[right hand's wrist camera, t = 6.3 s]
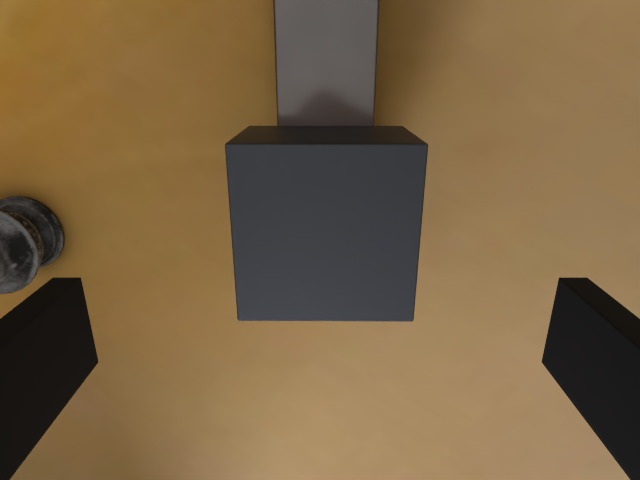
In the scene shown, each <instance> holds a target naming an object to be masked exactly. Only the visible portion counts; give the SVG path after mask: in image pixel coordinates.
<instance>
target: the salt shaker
mask: <svg viewBox="0 0 640 480" xmlns="http://www.w3.org/2000/svg"><path fill="white" fill-rule="evenodd" d="M63 244H64V241H63V232H62V228H61V225H60V224H59V222H58V220H57V218H56V217H55V216H54V215H53V213H52V212H51V211H50V210H49V209H48V208H46V207H45V206H43V205H42V204H41V203H39V202H37V201H34V200H32V199H30V198H25V197H19V196H18V197H8V198H5V199H3V200H0V294H3V293H13V292H16V291H18V290H21V289H23V288H24V287H26V286H27V285H28V284H30V283H31V282H32V280H33V279H34V277H35V276H36V274H37V271H38V268H40V267H43V266H46V265H49V264H50V263H51V262H53V261H54V260H55V259H57V257H58V256H59V254H60V253H61V251H62V247H63Z"/></svg>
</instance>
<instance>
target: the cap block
mask: <svg viewBox="0 0 640 480" xmlns="http://www.w3.org/2000/svg"><path fill="white" fill-rule="evenodd" d="M225 151H226V165H227V179H228V193H229V206H230V220H231V234H232V248H233V262H234V275H235V289H236V303H237V317H238V320H239V321H413V319H414V307H415V295H416V283H417V271H418V259H419V247H420V235H421V223H422V211H423V199H424V187H425V175H426V163H427V151H428V144H427V143H425V142H424V141H423V140H421V139H420V138H418V137H417V136H416V135H414V134H413V133H411V132H410V131H408V130H407V129H406V128H404V127H403V126H248V127H247V128H246V129H244V130H243V131H242V132H240V133H239V134H238V135H236V136H235V137H234V138H232V139H231V140H230V141H228V142H227V143H226V144H225Z"/></svg>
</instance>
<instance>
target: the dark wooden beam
mask: <svg viewBox="0 0 640 480" xmlns="http://www.w3.org/2000/svg"><path fill="white" fill-rule="evenodd" d="M273 1H274V33H275V64H276V96H277V126H374V115H375V90H376V66H377V42H378V18H379V0H273Z"/></svg>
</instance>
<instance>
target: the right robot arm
mask: <svg viewBox="0 0 640 480" xmlns="http://www.w3.org/2000/svg"><path fill="white" fill-rule="evenodd" d="M97 363H98V358H97V353H96V349H95V344H94V339H93V334H92V329H91V324H90V320H89V315H88V310H87V305H86V300H85V295H84V291H83V286H82V281H81V278H52V279H51V280H49V281H48V282H47V283H46V284H44V285H43V286H42V287H40V288H39V289H38V290H37V291H35V292H34V293H33V294H32V295H30V296H29V297H28V298H26V299H25V300H24V301H23V302H21V303H20V304H19V305H18V306H16V307H15V308H14V309H12V310H11V311H10V312H9V313H7V314H6V315H5V316H3V317H2V318H1V319H0V480H10V478H11V477H12V476H13V474H14V473H15V472H16V470H17V469H18V468H19V466H20V465H21V464H22V462H23V461H24V460H25V458H26V457H27V456H28V455H29V453H30V452H31V451H32V449H33V448H34V447H35V445H36V444H37V443H38V441H39V440H40V439H41V437H42V436H43V435H44V433H45V432H46V431H47V429H48V428H49V427H50V425H51V424H52V423H53V421H54V420H55V419H56V417H57V416H58V415H59V413H60V412H61V411H62V409H63V408H64V407H65V406H66V404H67V403H68V402H69V400H70V399H71V398H72V396H73V395H74V394H75V392H76V391H77V390H78V388H79V387H80V386H81V384H82V383H83V382H84V380H85V379H86V378H87V376H88V375H89V374H90V372H91V371H92V370H93V368H94V367H95V366H96V364H97ZM542 363H543V364H544V366H545V367H546V368H547V370H548V371H549V372H550V374H551V375H552V376H553V378H554V379H555V380H556V382H557V383H558V384H559V386H560V387H561V388H562V390H563V391H564V392H565V394H566V395H567V396H568V398H569V399H570V400H571V402H572V403H573V404H574V406H575V407H576V408H577V409H578V411H579V412H580V413H581V415H582V416H583V417H584V419H585V420H586V421H587V423H588V424H589V425H590V427H591V428H592V429H593V431H594V432H595V433H596V435H597V436H598V437H599V439H600V440H601V441H602V443H603V444H604V445H605V447H606V448H607V449H608V451H609V452H610V453H611V455H612V456H613V457H614V458H615V460H616V461H617V462H618V464H619V465H620V466H621V468H622V469H623V470H624V472H625V473H626V474H627V476H628V477H629V478H630V480H640V319H639V318H638V317H637V316H635V315H634V314H633V313H631V312H630V311H629V310H628V309H626V308H625V307H624V306H622V305H621V304H620V303H619V302H617V301H616V300H615V299H614V298H612V297H611V296H610V295H608V294H607V293H606V292H605V291H603V290H602V289H601V288H600V287H598V286H597V285H596V284H594V283H593V282H592V281H591V280H589V279H588V278H559V281H558V286H557V291H556V295H555V300H554V305H553V310H552V315H551V320H550V324H549V329H548V334H547V339H546V344H545V349H544V353H543V358H542Z"/></svg>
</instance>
